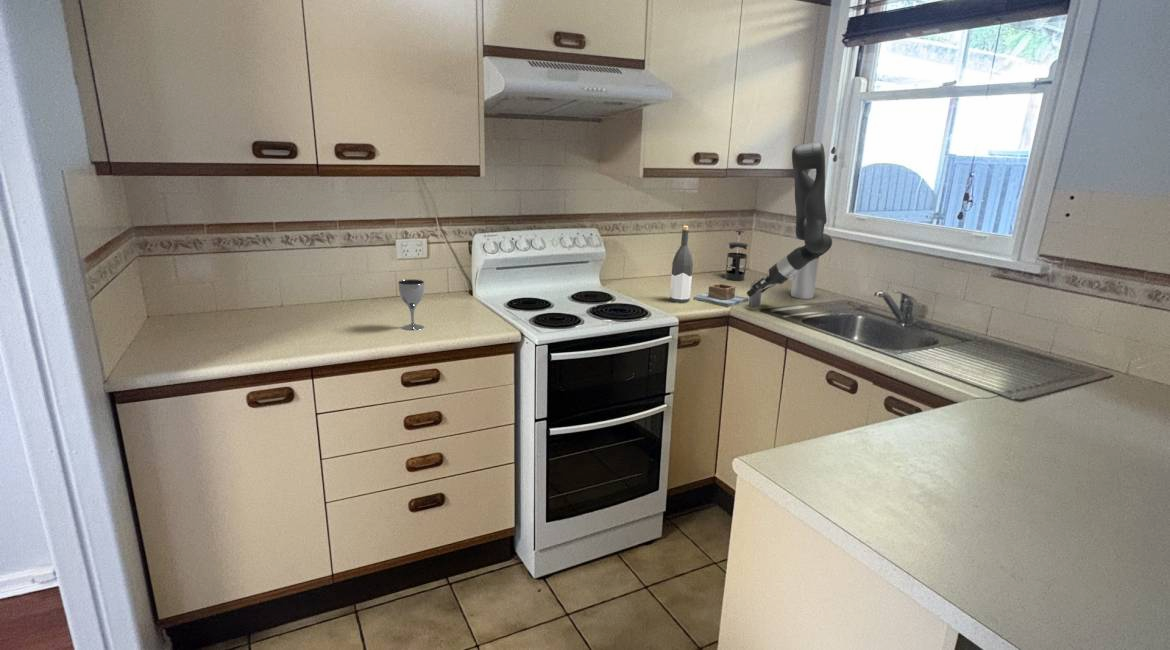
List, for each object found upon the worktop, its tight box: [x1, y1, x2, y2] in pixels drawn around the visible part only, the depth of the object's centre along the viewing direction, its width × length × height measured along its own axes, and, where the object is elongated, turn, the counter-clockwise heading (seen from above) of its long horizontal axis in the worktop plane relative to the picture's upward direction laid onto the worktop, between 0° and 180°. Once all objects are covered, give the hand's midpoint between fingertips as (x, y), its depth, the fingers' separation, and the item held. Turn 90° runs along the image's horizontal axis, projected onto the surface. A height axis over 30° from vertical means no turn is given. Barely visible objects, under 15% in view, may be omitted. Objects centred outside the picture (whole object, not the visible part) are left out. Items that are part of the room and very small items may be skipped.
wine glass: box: [397, 278, 425, 331], centre depth 202 cm, size 8×8×15 cm
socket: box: [693, 283, 749, 308], centre depth 257 cm, size 16×16×6 cm
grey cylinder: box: [748, 279, 763, 308], centre depth 249 cm, size 4×4×10 cm
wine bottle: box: [669, 225, 694, 304], centre depth 249 cm, size 8×8×30 cm
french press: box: [724, 230, 749, 282], centre depth 297 cm, size 12×9×23 cm
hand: (753, 293), depth 249 cm, fingers open, 8 cm apart
